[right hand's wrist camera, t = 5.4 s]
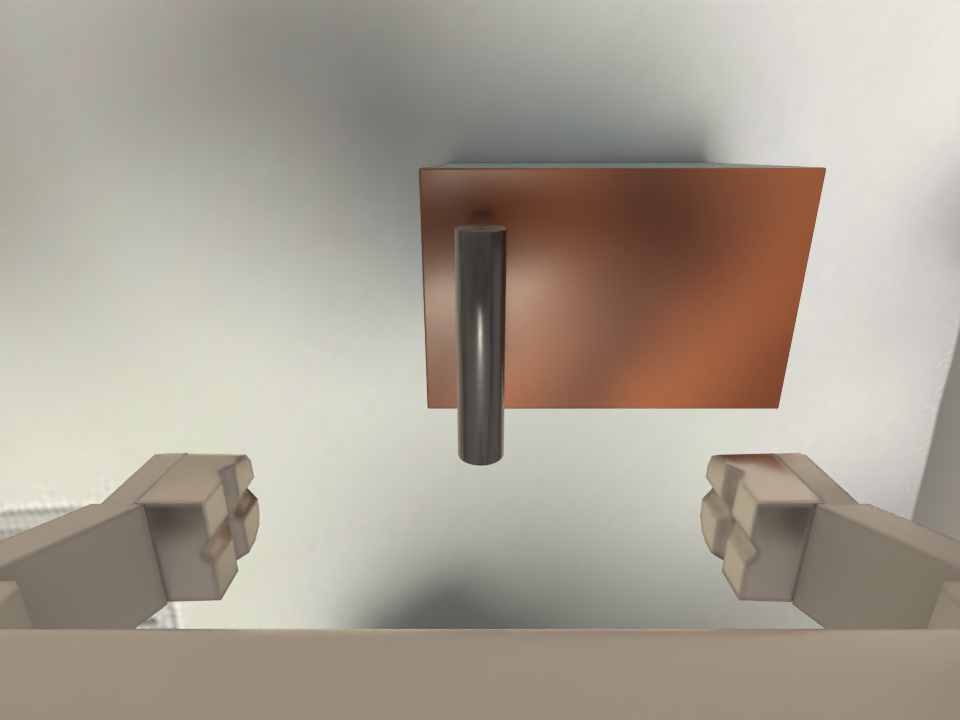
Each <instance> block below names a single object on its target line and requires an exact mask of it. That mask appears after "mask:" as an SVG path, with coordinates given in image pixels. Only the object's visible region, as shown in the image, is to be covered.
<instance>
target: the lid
mask: <svg viewBox="0 0 960 720" xmlns="http://www.w3.org/2000/svg"><path fill="white" fill-rule="evenodd" d="M825 172H826V168H820V167H431V168H420V169H419V184H420V211H421V239H422V266H423V294H424V321H425V349H426V376H427V404H428V408H458V455H459V457H460V459H461V460H463V461H464V462H466V463H469V464H472V465H490V464H493V463H496V462H498V461H499V460H500V459H501V458H502V457H503V450H504V408H778V407H779V402H780V397H781V392H782V387H783V382H784V377H785V372H786V367H787V362H788V357H789V352H790V347H791V342H792V337H793V332H794V327H795V322H796V317H797V312H798V307H799V302H800V297H801V292H802V287H803V282H804V277H805V272H806V267H807V262H808V257H809V252H810V247H811V242H812V237H813V232H814V227H815V222H816V217H817V212H818V207H819V202H820V197H821V192H822V187H823V182H824V177H825Z"/></svg>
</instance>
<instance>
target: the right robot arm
mask: <svg viewBox="0 0 960 720" xmlns="http://www.w3.org/2000/svg"><path fill="white" fill-rule="evenodd" d="M253 478H254V474H253V469H252V464H251V460H250V459H249V458H248V457H247V456H246V455H238V454H188V453H168V454H156V455H154V456H153V457H152V458H151V459H150V460H148V461H147V462H146V463H145V464H144V465H143V466H142V467H141V468H140V469H139V470H138V471H136V472H135V473H134V474H133V475H132V476H131V477H130V478H129V479H128V480H127V481H125V482H124V483H123V484H122V485H121V486H120V487H119V488H118V489H117V490H116V491H114V492H113V493H112V494H111V495H110V496H109V497H108V498H107V499H106V500H105V501H104V502H102V503H101V504H90V505H88V506H85V507H83V508H80V509H78V510H76V511H73V512H71V513H68V514H66V515H63V516H61V517H59V518H56V519H54V520H51V521H49V522H46V523H44V524H41V525H39V526H37V527H34V528H32V529H29V530H27V531H24V532H22V533H20V534H17V535H15V536H12V537H10V538H7V539H5V540H2V541H0V720H960V541H957V540H955V539H952V538H950V537H948V536H945V535H943V534H940V533H938V532H935V531H933V530H930V529H928V528H926V527H923V526H921V525H918V524H916V523H914V522H911V521H909V520H906V519H904V518H901V517H899V516H897V515H894V514H892V513H889V512H887V511H884V510H882V509H880V508H877V507H875V506H872V505H870V504H859V503H858V502H857V501H855V500H854V499H853V498H852V497H851V496H850V495H849V494H848V493H847V492H846V491H845V490H843V489H842V488H841V487H840V486H839V485H838V484H837V483H836V482H835V481H834V480H832V479H831V478H830V477H829V476H828V475H827V474H826V473H825V472H824V471H823V470H822V469H820V468H819V467H818V466H817V465H816V464H815V463H814V462H813V461H812V460H811V459H810V458H808V457H807V456H806V455H803V454H800V453H783V454H737V455H715V456H712V457H711V459H710V461H709V464H708V468H707V474H706V478H707V479H708V481H709V483H710V484H711V486H712V487H713V488H712V489H711V491H710V492H709V493H708V494H707V495H706V496H705V497H704V498H703V499H702V507H701V515H700V516H701V526H702V533H703V536H704V539H705V542H706V544H707V546H708V548H709V549H710V551H711V553H713V554H714V555H716V556H717V557H719V558H721V559H722V560H724V561H723V567H722V572H723V574H724V575H725V577H726V579H727V580H728V582H729V584H730V586H731V587H732V589H733V591H734V592H735V594H736V596H737V597H738V599H739V600H752V601H788V602H793V605H795V606H796V607H797V608H799V609H800V610H801V611H803V612H804V613H805V614H806V615H808V616H809V617H810V618H812V619H813V620H814V621H816V622H817V623H818V624H820V625H821V626H822V627H824V628H825V629H135V628H136V627H138V626H139V625H140V624H142V623H143V622H144V621H146V620H147V619H148V618H150V617H151V616H152V615H154V614H155V613H156V612H158V611H159V610H160V609H162V608H163V607H164V606H166V605H167V602H172V601H207V600H221V599H222V598H223V596H224V594H225V592H226V591H227V589H228V587H229V586H230V584H231V582H232V581H233V579H234V577H235V575H236V574H237V572H238V567H237V561H236V560H238V559H239V558H241V557H243V556H244V555H246V554H247V553H249V551H250V549H251V548H252V546H253V544H254V542H255V539H256V535H257V531H258V527H259V505H258V499H257V498H256V497H255V496H254V495H253V494H252V493H251V492H250V491H249V489H248V488H247V487H248V486H249V484H250V483H251V481H252V480H253Z"/></svg>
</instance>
